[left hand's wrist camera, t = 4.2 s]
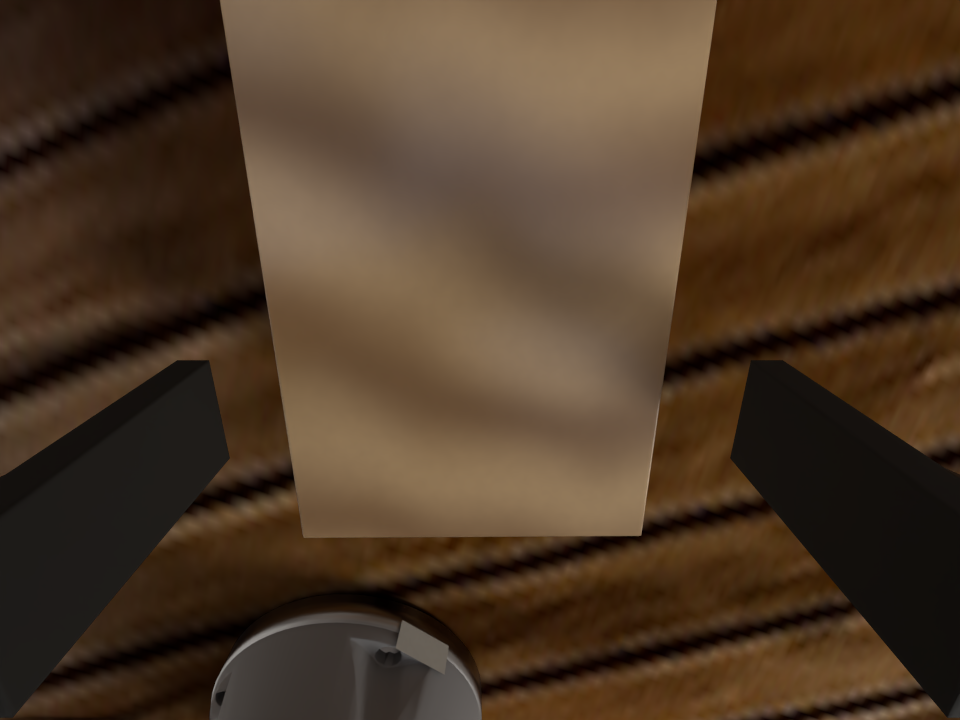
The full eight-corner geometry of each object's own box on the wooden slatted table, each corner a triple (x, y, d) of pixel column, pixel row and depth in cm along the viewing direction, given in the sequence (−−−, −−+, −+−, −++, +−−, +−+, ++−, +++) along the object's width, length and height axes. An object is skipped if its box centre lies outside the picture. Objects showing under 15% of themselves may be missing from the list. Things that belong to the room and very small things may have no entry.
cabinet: (313, -204, 16) (118, -645, 7) (627, -202, 16) (807, -636, 7) (366, 400, 24) (303, 538, 15) (580, 399, 24) (641, 536, 15)
